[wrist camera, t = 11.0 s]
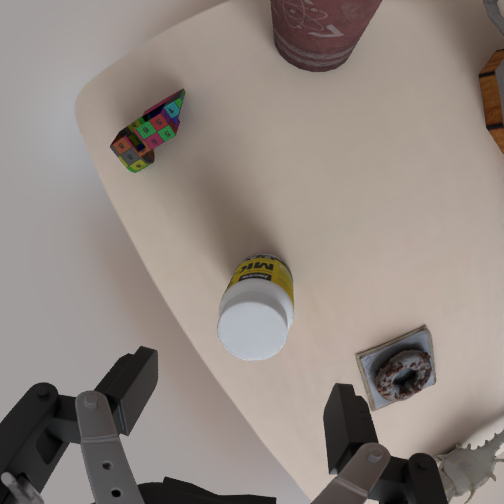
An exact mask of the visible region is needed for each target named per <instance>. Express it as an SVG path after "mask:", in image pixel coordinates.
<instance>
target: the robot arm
mask: <svg viewBox="0 0 504 504" xmlns="http://www.w3.org/2000/svg"><path fill="white" fill-rule="evenodd" d="M157 381H158V352H157V350H154V349H151V348H147V347H143V346H140V347H139V349H138V350H137V351H136V353H135V354H134V355H133V354H129V353H128V354H126V355H124V356H122V357H121V358H119V360H118V361H117V362H116V363H115V364H114V366H113V367H112V368H111V369H110V372H108V373H107V374H106V376H105V377H104V378H103V379H102V381H101V382H100V383H99V384H98V385H97V387H96V388H95V389H94V391H86V392H82V393H81V394H79V395H78V396H77V397H71V396H65V395H59V394H58V391H57V389H56V387H55V386H53V385H52V384H49V383H38V384H35V385H33V386H32V387H31V388H30V389H29V390H28V391H27V392H26V394H25V395H24V396H23V397H22V398H21V399H20V401H19V402H18V403H17V404H16V405H15V406H14V407H13V408H12V410H11V411H10V412H9V413H8V414H7V416H6V417H5V418H4V419H3V421H2V422H1V423H0V504H44V501H43V499H42V497H41V496H40V493H41V491H42V490H43V488H44V486H45V484H46V483H47V481H48V479H49V477H50V475H51V473H52V472H53V470H54V469H55V467H56V465H57V463H58V462H59V460H60V458H61V457H62V455H63V453H64V452H65V450H66V448H67V447H68V445H69V443H70V442H71V443H77V444H80V445H81V450H82V454H83V458H84V462H85V467H86V471H87V475H88V479H89V482H90V486H91V489H92V493H93V496H94V499H95V502H94V503H92V504H276V498H275V497H265V496H257V495H249V494H248V495H217V494H214V493H212V492H209V491H207V490H205V489H203V488H200V487H198V486H196V485H194V484H191V483H188V482H184V481H180V480H176V479H172V478H169V477H165V478H164V480H163V483H161V482H150V483H143V484H139V485H137V484H136V482H135V479H134V477H133V474H132V472H131V469H130V466H129V464H128V461H127V458H126V456H125V453H124V450H123V447H122V444H121V441H120V438H119V435H120V433H121V434H124V435H126V436H129V434H130V432H131V430H132V429H133V427H134V425H135V423H136V421H137V419H138V418H139V416H140V414H141V412H142V410H143V408H144V407H145V405H146V403H147V402H148V400H149V398H150V396H151V395H152V392H153V391H154V389H155V387H156V384H157ZM323 421H324V429H325V438H326V448H327V458H328V468H329V474H338V476H337V477H335V478H334V479H333V480H332V481H331V482H330V483H329V484H328V485H327V487H326V488H325V489H324V490H323V491H322V492H321V493H320V494H319V495H318V496H317V497H316V498H315V500H314V501H313V502H312V503H311V504H364V503H365V501H366V500H367V499H372V500H377V501H379V504H448V501H447V497H446V494H445V490H444V487H443V483H442V480H441V477H440V473H439V470H438V467H437V464H436V461H435V460H434V459H433V458H432V457H431V456H430V455H428V454H425V453H416V454H414V455H412V456H411V457H410V458H409V460H407V459H402V458H397V457H393V456H391V455H390V453H389V451H388V450H387V449H386V448H385V447H384V446H383V445H381V444H379V442H378V439H377V435H376V431H375V428H374V424H373V421H372V417H371V414H370V410H369V407H368V404H367V402H366V401H365V400H364V399H363V398H362V396H355V392H354V388H353V385H352V384H340V383H336V384H335V385H334V387H333V389H332V392H331V394H330V397H329V399H328V401H327V404H326V406H325V409H324V415H323Z"/></svg>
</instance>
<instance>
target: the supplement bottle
mask: <svg viewBox="0 0 504 504" xmlns="http://www.w3.org/2000/svg"><path fill="white" fill-rule="evenodd" d="M219 316H220V318H219V320H218V325H217V332H218V337H219V339H220V341H221V343H222V345H223V346H224V347H225V348H226V350H228V351H229V352H230V353H231V354H233V355H234V356H236V357H238V358H241V359H245V360H251V361H258V360H264V359H267V358H269V357H272V356H273V355H275V354H276V353H278V352H279V351H280V350H281V348H282V347H283V346H284V344H285V341H286V338H287V332H288V330H289V328H290V327H291V324H292V321H293V318H294V299H293V279H292V274H291V272H290V269H289V268H288V266H287V265H286V264H285V263H284V262H283V261H282V260H281V259H279V258H278V257H276V256H273V255H270V254H255V255H252V256H250V257H248V258H246V259H245V260H244V261H242V262H241V263H240V265H239V266H238V267H237V269H236V271H235V273H234V275H233V277H232V279H231V281H230V283H229V285H228V287H227V289H226V291H225V293H224V295H223V297H222V299H221V302H220V307H219Z"/></svg>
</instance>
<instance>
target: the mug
mask: <svg viewBox="0 0 504 504" xmlns="http://www.w3.org/2000/svg"><path fill="white" fill-rule="evenodd" d="M497 1H498V0H483V3H484V6H485V9H486V11H487V14H488V17H489V18H490V19H491V21H492V22H493V23H494V24H495V25H496V27H497V28H498V29H499V30H500V32H501V33H502V34H503V36H504V18H503V17H502V16H501V14H500V11H499V8H498V6H497ZM479 80H480V85H481V91H482V97H483V104H484V111H485V119H486V128H487V129H488V131H489V132H490V134H491V135H492V137H493V138H494V140H495V141H496V143H497V144H498V146H499V147H500V149H501V151H502V152H503V154H504V49H501V50H497V51H496V52H495V54H494V55H493V56H492V58H491V59H490V60H489V62H488V63H487V64H486V66H485V67H484V68H483V70H482V71H481V72H480V74H479Z"/></svg>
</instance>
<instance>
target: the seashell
mask: <svg viewBox="0 0 504 504" xmlns="http://www.w3.org/2000/svg"><path fill="white" fill-rule="evenodd" d="M502 443H504V430H503V431H502V432H501V433H500V434H496V433H495V436H494V438H493V439H492V440H490V441H488V440H485V444H484V446H482V447H480V446H478V447H477V449H475V450H471V449H470V448H471V444H470V443H469V444H468V446H467V448H466V449H463V448H460V447H459V445H458V444H457V445H456V448H455V449H454V450H453V451H451V452H450V453H448V454H444V455H441V454H439V455H436V456H437V457H440V459H441V463H440V466H439V468H438V470H439V473H440V477H441V480H442V483H443V487H444V490H445V494H446V497H447V499H448V504H449V502H450V501H451V499H452V497H454V496H455V497H458V496H462V495H464V494H465V493H466V492H468V491H471V495H470V497H469V499H468V500H467V501H466V502H465V504H466V503H467V502H468V501H469V500H470V499H471V498H472V496H473V495H474V493H475V491H476V490H477V489H478V488H479V487H481V486H482V485H484V484H485V483H486V482H487V481H488V479H489V477H492V479H494V481H496V477H495V475H494V474H493V471H494V466H495V464H496V462H504V459H495V458H496V456H495V453H496V452H497V450H498V449H500V447H499V446H500V445H502ZM436 456H433V457H436Z"/></svg>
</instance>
